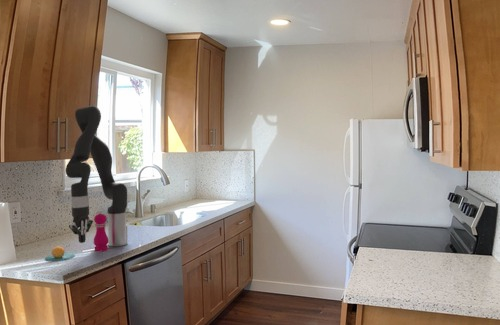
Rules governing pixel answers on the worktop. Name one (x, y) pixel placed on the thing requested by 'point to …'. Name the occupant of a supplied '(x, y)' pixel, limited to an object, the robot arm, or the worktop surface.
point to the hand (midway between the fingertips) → (82, 242)
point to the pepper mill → (100, 232)
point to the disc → (64, 257)
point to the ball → (58, 252)
